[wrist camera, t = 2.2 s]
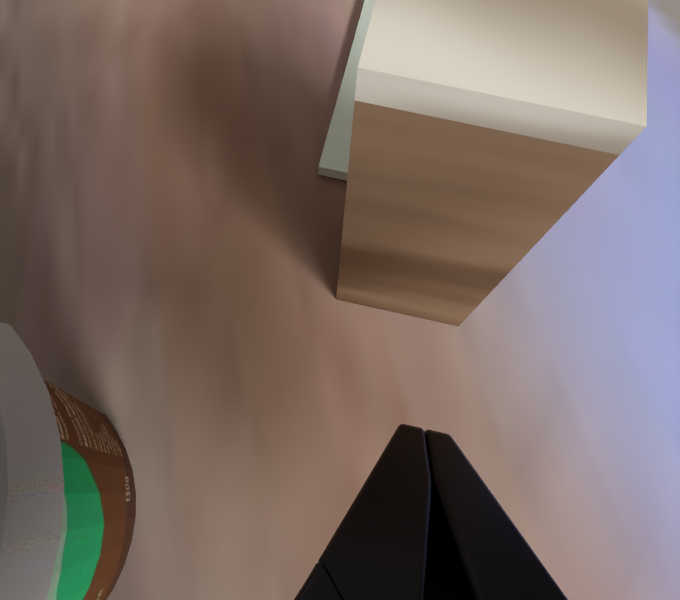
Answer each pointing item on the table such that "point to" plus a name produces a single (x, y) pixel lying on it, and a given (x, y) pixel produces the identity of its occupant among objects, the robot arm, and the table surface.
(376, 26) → the walnut block
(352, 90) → the rubber mat
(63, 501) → the food container
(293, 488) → the table surface
